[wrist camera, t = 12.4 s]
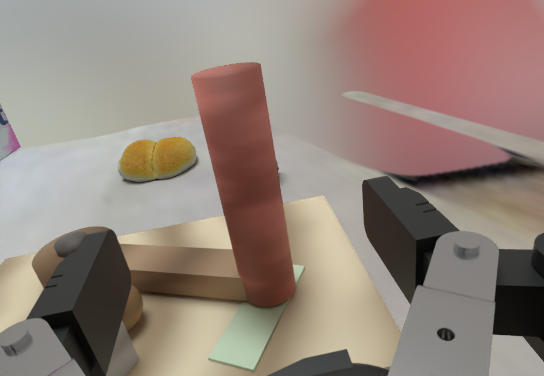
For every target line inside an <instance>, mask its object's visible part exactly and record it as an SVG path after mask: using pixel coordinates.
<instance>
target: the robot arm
mask: <svg viewBox="0 0 544 376" xmlns="http://www.w3.org/2000/svg"><path fill="white" fill-rule="evenodd" d="M362 193H363V213H364V226H365V231H366V234H367V237H368V239H369V241H370V242H371V244H372V246H373V247H374V249H375V250H376V252H377V253H378V255H379V256H380V258H381V260H382V261H383V263H384V264H385V266H386V267H387V269H388V270H389V272H390V274H391V275H392V277H393V278H394V280H395V281H396V283H397V284H398V286H399V288H400V289H401V291H402V292H403V294H404V295H405V297H406V299H407V300H408V302H409V303H410V305H411V306H410V309H409V312H408V315H407V318H406V321H405V324H404V327H403V330H402V333H401V336H400V339H399V342H398V346H397V349H396V352H395V355H394V358H393V361H392V364H391V367H390V370H388V369H385V368H382V367H378V366H374V365H370V364H362V363H352V361H351V359H350V356H349V353H348V351H347V349H344V350H339V351H335V352H330V353H326V354H321V355H317V356H312V357H308V358H303V359H301V360H299V361H297V362H295V363H293V364H291V365H289V366H286V367H284V368H282V369H280V370H278V371H276V372H274V373H272V374H270V375H267V376H489V367H490V356H491V345H492V334H494V335H511V336H523V337H524V338H525V340H526V341H527V342H528V343H529V344H530V346H531V347H532V348H533V349H534V351H535V352H536V353H537V354H538V355H539V357H540V358H541V359H542V360H543V361H544V233H542V234H540V235H539V236H537V237H536V239H535V242H534V247H533V250H514V249H498V247H497V245H496V244H495V243H494V242H493V241H492V240H490V239H489V238H487V237H485V236H483V235H480V234H477V233H473V232H467V231H459V230H458V229H457V228H456V227H455V226H454V225H453V224H452V223H451V222H450V221H449V220H448V219H447V218H446V217H445V216H444V215H442V214H441V213H440V212H439V211H438V210H436V208H435V207H434V206H433V205H432V204H431V203H430V204H429V201H428V200H427V199H426V198H424V197H423V196H422V195H421V194H420V193H418V192H416V191H414V190H411V189H409V188H407V187H405V188H399V187H398V186H397V185H396V184H395V183H394V182H393V181H392V180H391V179H390V178H389V177H388V176H383V177H378V178H373V179H368V180H364V181H363V184H362ZM130 290H131V274H130V270H129V267H128V264H127V262H126V259H125V257H124V254H123V252H122V249H121V247H120V244H119V242H118V239H117V236H116V234H115V233H114V231H113V230H105V231H100V232H95V233H90V234H86V235H85V236H84V237H83V239H82V241H81V243H80V245H79V247H78V249H77V250H76V252H74V253H70V254H69V255H68V256H67V257H66V258H65V259H64V260H63V261H62V262H60V263H59V264H58V265H57V267H56V269H55V271H54V272H53V274H52V276H51V279H49V281H48V282H47V284H46V286H45V289H43V291H42V293H41V294H40V296H39V298H38V300H37V301H36V303H35V305H34V306H33V308H32V310H31V312H30V313H29V315H28V317H27V318H26V320H24V321H21V322H18V323H16V324H14V325H12V326H10V327H8V328H7V329H5V330H4V331H2V332H1V333H0V376H106V374H107V371H108V367H109V364H110V360H111V357H112V353H113V350H114V346H115V343H116V339H117V336H118V332H119V329H120V325H121V322H122V318H123V315H124V311H125V307H126V304H127V300H128V297H129V293H130Z"/></svg>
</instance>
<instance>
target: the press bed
mask: <svg viewBox="0 0 544 376" xmlns="http://www.w3.org/2000/svg"><path fill="white" fill-rule="evenodd" d="M283 207H284V214H285V220H286V226H287V232H288V238H289V245H290V251H291V257H292V263H293V269H294V276H295V282H296V288H295V291H294V293H293V294H292V296H291V297H290V298H289V299H287V300H286V301H284V302H283V303H281V304H278V305H275V306H270V307H260V306H256V305H253V304H251V303H249V302H248V301H241V300H230V299H220V298H209V297H199V296H188V295H178V294H167V293H157V292H146V291H138V290H137V288H135V287H134V286H133V285H132V284H131V290H130V293H129V297H128V300H127V304H126V307H125V311H124V315H123V318H122V322H121V325H120V329H119V332H118V336H117V339H116V343H115V346H114V350H113V353H112V357H111V360H110V364H109V367H108V371H107V374H106V376H267V375H270V374H272V373H274V372H276V371H278V370H280V369H282V368H284V367H286V366H289V365H291V364H293V363H295V362H297V361H299V360H301V359H303V358H308V357H312V356H317V355H321V354H326V353H330V352H335V351H339V350H344V349H347V351H348V353H349V356H350V359H351V361H352V363H362V364H370V365H374V366H378V367H382V368H385V369H388V370H390V367H391V364H392V361H393V358H394V355H395V352H396V349H397V346H398V342H399V339H400V336H401V332H400V330H399V328H398V327H397V325H396V323H395V321H394V320H393V318H392V316H391V314H390V312H389V311H388V309H387V307H386V305H385V303H384V302H383V300H382V298H381V296H380V295H379V293H378V291H377V289H376V287H375V286H374V284H373V282H372V280H371V279H370V277H369V275H368V273H367V271H366V270H365V268H364V266H363V264H362V263H361V261H360V259H359V257H358V255H357V254H356V252H355V250H354V248H353V246H352V245H351V243H350V241H349V239H348V238H347V236H346V234H345V232H344V230H343V229H342V227H341V225H340V223H339V222H338V220H337V218H336V216H335V214H334V213H333V211H332V209H331V207H330V206H329V204H328V202H327V200H326V198H325V197H324V195H323V196H318V197H313V198H308V199H303V200H298V201H293V202H288V203H283ZM117 239H118V242H119V244H136V245H155V246H175V247H195V248H214V249H232V245H231V241H230V237H229V233H228V229H227V224H226V220H225V216H224V215H223V216H218V217H213V218H208V219H203V220H198V221H193V222H188V223H183V224H178V225H173V226H168V227H163V228H158V229H153V230H148V231H143V232H138V233H133V234H128V235H123V236H118V237H117ZM36 254H37V253H33V254H28V255H23V256H18V257H13V258H8V259H5V261H4V262H3V263H2V264H1V266H0V333H1V332H2V331H4V330H5V329H7V328H8V327H10V326H12V325H14V324H16V323H18V322H21V321H24V320H26V318H27V317H28V315H29V313H30V312H31V310H32V308H33V306H34V305H35V303H36V301H37V300H38V298H39V296H40V294H41V293H42V291H43V289H44V288H43V286H42V284H41V282H40V281H39V279H38V277H37V275H36V273H35V271H34V269H33V267H32V260H33V258H34V256H35V255H36Z"/></svg>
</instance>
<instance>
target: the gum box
mask: <svg viewBox="0 0 544 376" xmlns="http://www.w3.org/2000/svg"><path fill="white" fill-rule="evenodd" d="M18 148H20V145H19V143H18V140H17V138H16V136H15V134H14V132H13V130H12V128H11V125H10V124H9V122H8V119H7V117H6V115H5V113H4V111H3V109H2V107H1V105H0V160H1V159H3V158H5V157H6V156H8V155H9V154H11V153H12V152H14V151H15V150H17V149H18Z"/></svg>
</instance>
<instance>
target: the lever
mask: <svg viewBox="0 0 544 376" xmlns="http://www.w3.org/2000/svg"><path fill="white" fill-rule="evenodd" d="M191 80H192V84H193V87H194V92H195V96H196V100H197V104H198V108H199V113H200V117H201V121H202V125H203V129H204V133H205V137H206V142H207V146H208V150H209V154H210V158H211V162H212V166H213V171H214V175H215V179H216V183H217V187H218V191H219V195H220V200H221V204H222V208H223V212H224V216H225V220H226V224H227V229H228V233H229V237H230V241H231V245H232V249H214V248H195V247H175V246H155V245H136V244H120V247H121V249H122V252H123V254H124V257H125V259H126V262H127V264H128V267H129V270H130V274H131V284H132V285H133V286H134V287H135V288H137V290H138V291H146V292H157V293H167V294H178V295H188V296H199V297H209V298H220V299H230V300H241V301H248V302H249V303H251V304H253V305H256V306H260V307H270V306H275V305H278V304H281V303H283V302H284V301H286V300H287V299H289V298H290V297H291V296H292V294H293V293H294V291H295V288H296V282H295V276H294V269H293V263H292V257H291V251H290V245H289V238H288V232H287V226H286V220H285V214H284V207H283V201H282V195H281V189H280V182H279V176H278V170H277V164H276V158H275V151H274V145H273V139H272V133H271V127H270V121H269V114H268V108H267V102H266V96H265V90H264V83H263V77H262V71H261V65H260V64H259V63H252V62H251V63H237V64H230V65H224V66H219V67H214V68H210V69H207V70H203V71H200V72H198V73H195V74H194V75H192V76H191ZM105 230H110V229H109V228H106V227H87V228H83V229H79V230H75V231H72V232H70V233H67V234H65V235H62V236H60V237H58V238H57V239H55V240H53V241H51V242H50V243H48V244H47V245H45V246H44V247H43V248H42V249H41V250H40V251H39V252H38V253H37V254H36V255H35V256H34V258H33V260H32V267H33V269H34V271H35V273H36V275H37V277H38V279H39V281H40V282H41V284H42V286H43V288H44V289H45V286H46V284H47V282H48V281H49V279H51V276H52V274H53V272H54V271H55V269H56V267H57V265H58V264H59V263H60V262H62V261H63V260H64V259H65V258H66V257H67V256H68V255H69V254H70V253H74V252H76V250H77V249H78V247H79V245H80V243H81V241H82V239H83V237H84V236H85V235H86V234H90V233H95V232H100V231H105Z"/></svg>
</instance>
